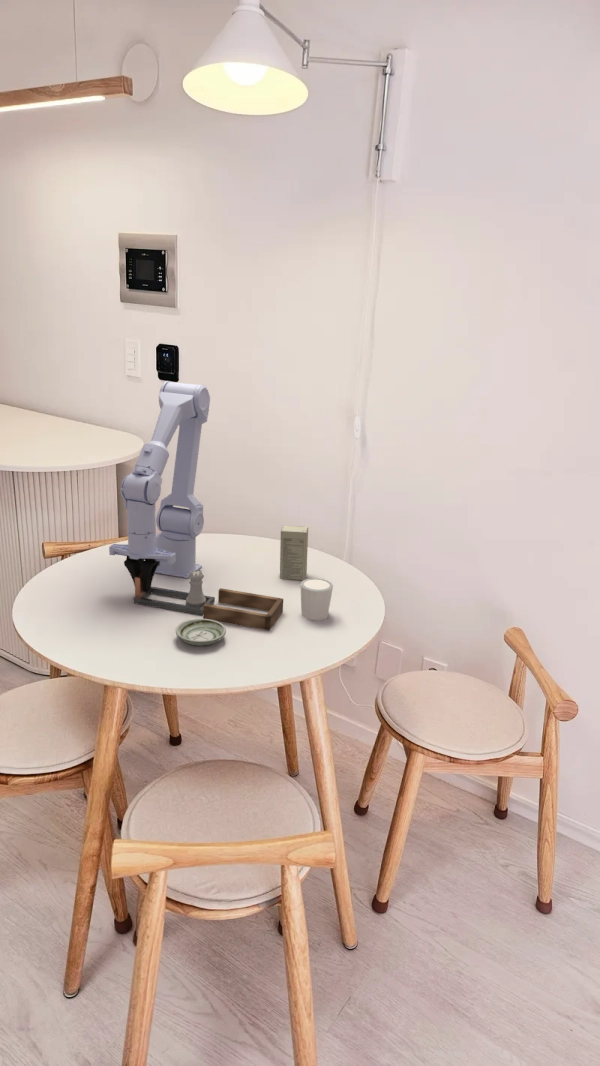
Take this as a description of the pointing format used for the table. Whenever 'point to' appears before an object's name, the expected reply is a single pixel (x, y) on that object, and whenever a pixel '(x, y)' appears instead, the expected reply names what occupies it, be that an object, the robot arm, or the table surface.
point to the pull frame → (141, 595)
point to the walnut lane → (243, 616)
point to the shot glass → (315, 598)
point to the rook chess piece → (196, 590)
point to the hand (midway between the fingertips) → (143, 589)
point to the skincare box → (293, 552)
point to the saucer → (200, 631)
